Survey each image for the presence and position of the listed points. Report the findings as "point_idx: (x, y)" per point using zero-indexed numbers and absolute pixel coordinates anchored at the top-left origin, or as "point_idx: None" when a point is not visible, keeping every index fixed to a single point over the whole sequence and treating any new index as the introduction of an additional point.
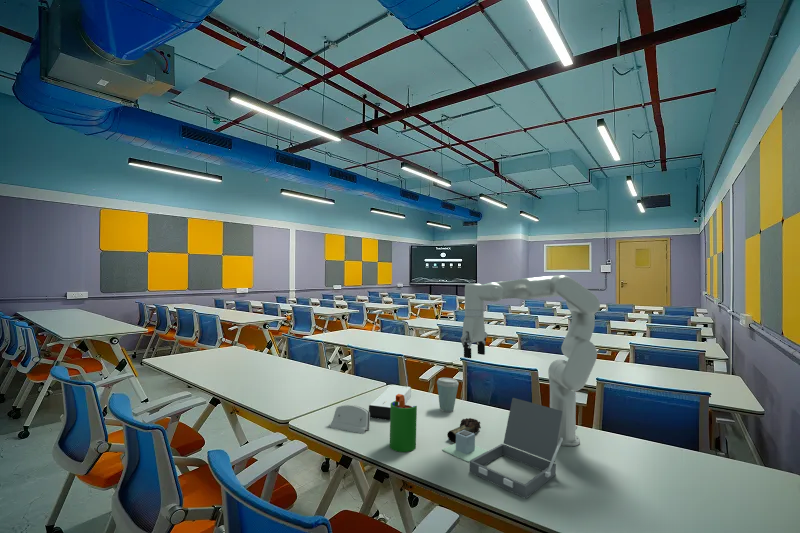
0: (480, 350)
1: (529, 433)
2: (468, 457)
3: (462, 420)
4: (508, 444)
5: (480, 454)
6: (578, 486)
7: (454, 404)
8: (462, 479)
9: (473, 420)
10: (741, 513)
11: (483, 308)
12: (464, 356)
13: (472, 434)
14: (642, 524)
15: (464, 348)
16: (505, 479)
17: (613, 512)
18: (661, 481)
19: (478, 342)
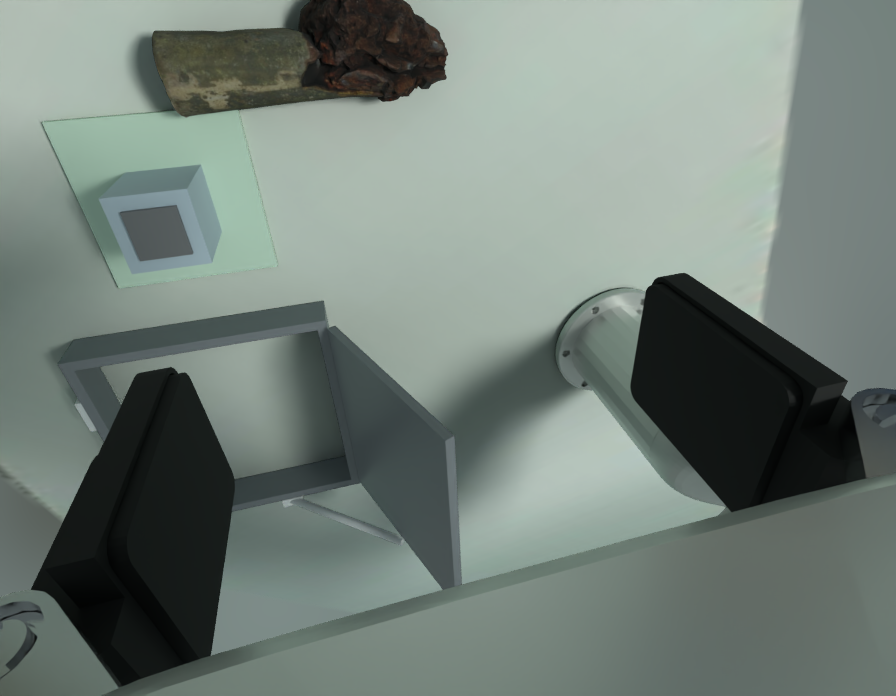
0: (680, 380)
1: (377, 448)
2: None
3: (341, 3)
4: (333, 349)
5: (218, 272)
6: (354, 507)
7: None
8: (6, 363)
9: (394, 70)
10: None
11: None
12: (142, 390)
13: (193, 260)
14: (330, 604)
15: (23, 605)
16: None
17: (320, 576)
18: (531, 544)
19: (849, 457)
